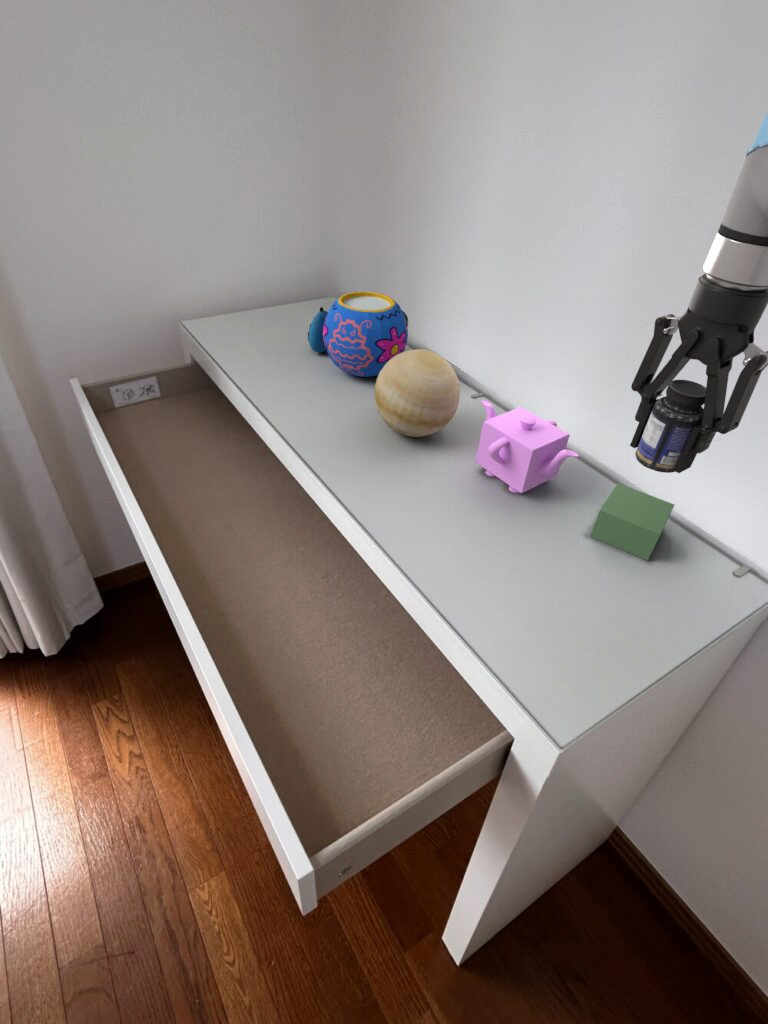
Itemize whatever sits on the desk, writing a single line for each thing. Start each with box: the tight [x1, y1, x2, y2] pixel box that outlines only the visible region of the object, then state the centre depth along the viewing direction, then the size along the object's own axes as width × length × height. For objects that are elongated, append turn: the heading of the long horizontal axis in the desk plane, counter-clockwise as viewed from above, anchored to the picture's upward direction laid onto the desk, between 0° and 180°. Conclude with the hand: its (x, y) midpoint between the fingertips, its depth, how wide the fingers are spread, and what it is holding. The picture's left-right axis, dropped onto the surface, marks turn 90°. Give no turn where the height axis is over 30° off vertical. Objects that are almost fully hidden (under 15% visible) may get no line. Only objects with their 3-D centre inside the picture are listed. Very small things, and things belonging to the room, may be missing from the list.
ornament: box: [307, 306, 328, 354], centre depth 126 cm, size 8×5×10 cm, turn 152°
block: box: [589, 482, 675, 561], centre depth 84 cm, size 8×8×5 cm
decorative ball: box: [374, 348, 461, 438], centre depth 100 cm, size 15×15×15 cm
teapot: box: [475, 399, 579, 494], centre depth 92 cm, size 15×13×11 cm
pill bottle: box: [634, 379, 706, 474], centre depth 74 cm, size 6×6×11 cm
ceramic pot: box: [323, 291, 409, 378], centre depth 118 cm, size 18×18×15 cm
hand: (659, 456), depth 77 cm, fingers closed on pill bottle, 6 cm apart
